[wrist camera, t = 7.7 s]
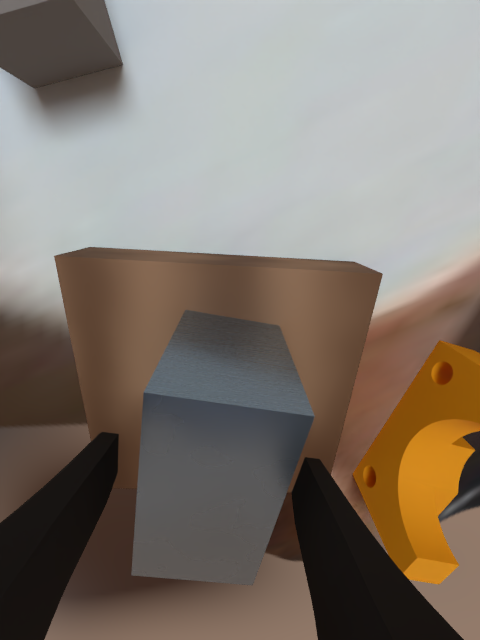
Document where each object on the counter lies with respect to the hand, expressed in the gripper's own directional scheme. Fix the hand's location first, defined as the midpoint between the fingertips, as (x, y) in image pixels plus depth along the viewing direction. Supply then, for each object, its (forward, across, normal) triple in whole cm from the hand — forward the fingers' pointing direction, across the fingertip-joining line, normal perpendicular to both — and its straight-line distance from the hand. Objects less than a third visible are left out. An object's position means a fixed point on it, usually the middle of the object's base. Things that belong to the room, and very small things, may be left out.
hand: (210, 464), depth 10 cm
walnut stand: (+7, 0, 0) cm, 7 cm away
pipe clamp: (+7, -14, +2) cm, 16 cm away
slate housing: (+4, 0, -1) cm, 4 cm away
